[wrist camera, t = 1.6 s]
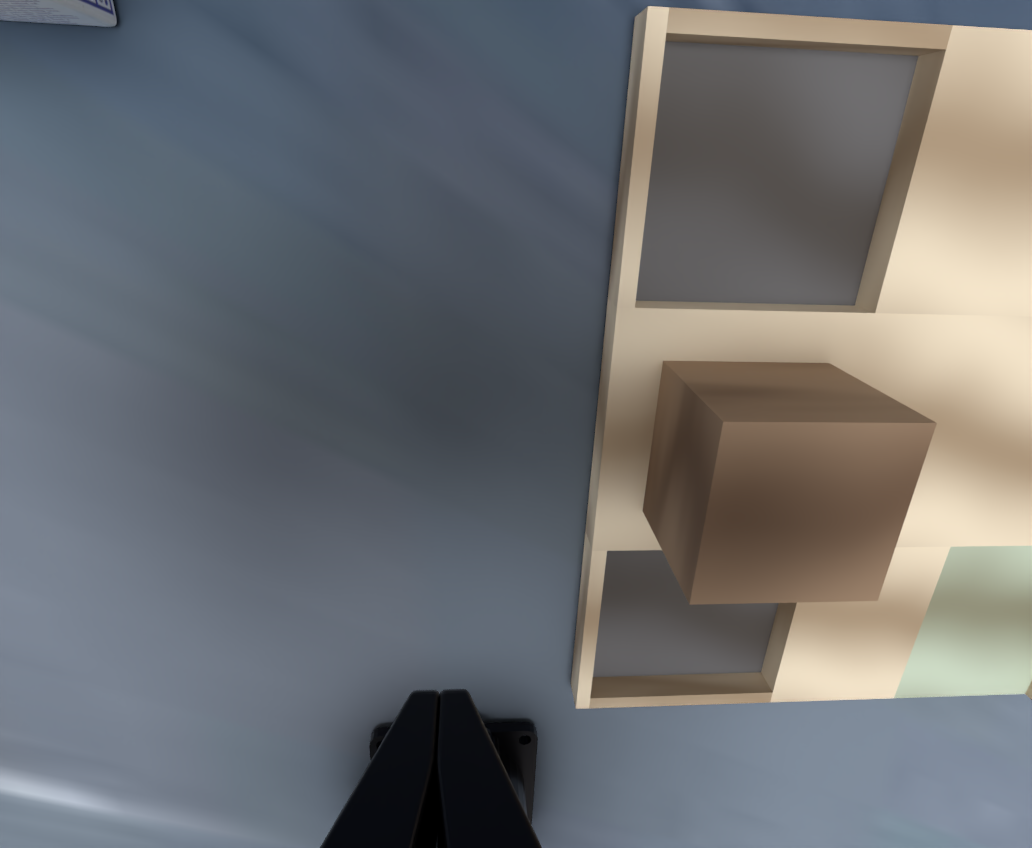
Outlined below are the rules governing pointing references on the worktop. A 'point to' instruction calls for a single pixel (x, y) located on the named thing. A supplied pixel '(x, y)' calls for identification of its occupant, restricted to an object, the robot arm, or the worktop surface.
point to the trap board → (823, 340)
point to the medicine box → (60, 11)
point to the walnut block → (779, 481)
